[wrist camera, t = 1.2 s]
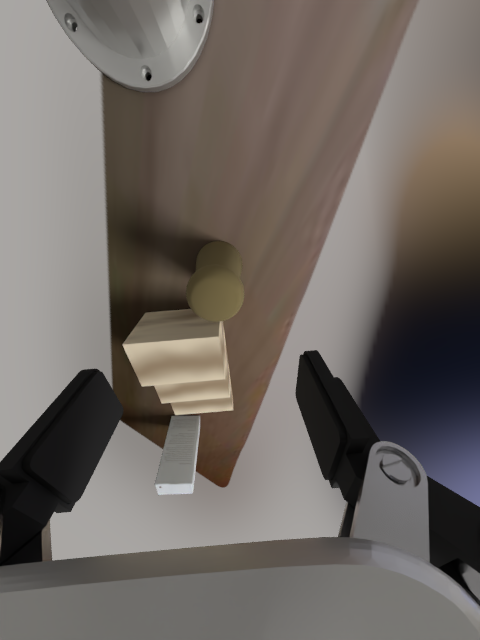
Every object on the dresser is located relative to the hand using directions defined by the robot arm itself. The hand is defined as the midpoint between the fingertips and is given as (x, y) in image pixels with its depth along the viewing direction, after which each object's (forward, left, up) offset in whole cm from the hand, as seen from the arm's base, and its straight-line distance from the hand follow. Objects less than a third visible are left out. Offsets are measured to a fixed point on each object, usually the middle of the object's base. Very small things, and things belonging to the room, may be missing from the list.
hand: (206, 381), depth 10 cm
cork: (0, 0, -19) cm, 19 cm away
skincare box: (+33, -11, -19) cm, 40 cm away
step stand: (+16, -6, -19) cm, 26 cm away
